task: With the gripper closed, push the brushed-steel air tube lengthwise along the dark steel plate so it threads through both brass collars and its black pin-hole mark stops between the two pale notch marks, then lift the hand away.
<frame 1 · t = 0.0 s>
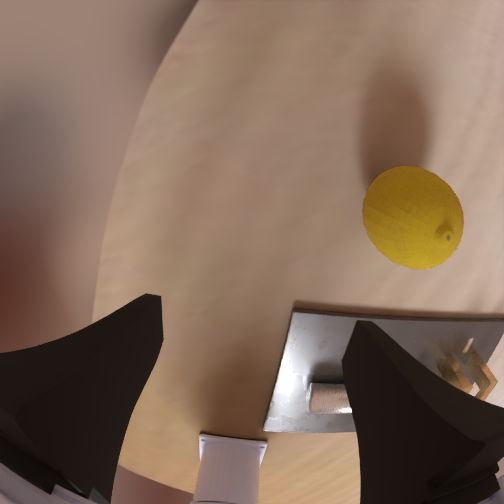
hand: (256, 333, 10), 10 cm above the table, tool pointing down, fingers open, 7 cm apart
air tube: (372, 387, 24), point 1 cm above the table, touching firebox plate
lemon: (384, 199, 18), on the table
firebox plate: (396, 382, 24), on the table
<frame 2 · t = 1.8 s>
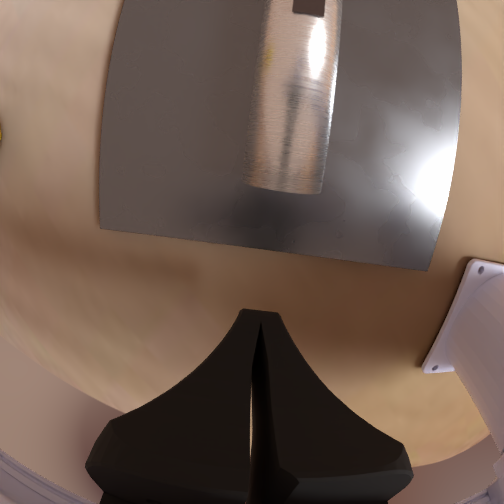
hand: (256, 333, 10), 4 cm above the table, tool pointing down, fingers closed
air tube: (297, 31, 9), point 1 cm above the table, touching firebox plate
lemon: (2, 136, 11), on the table
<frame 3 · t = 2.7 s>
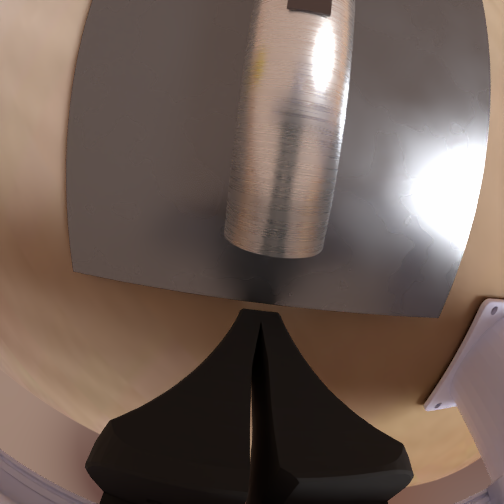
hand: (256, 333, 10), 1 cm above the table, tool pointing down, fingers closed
air tube: (298, 34, 7), point 1 cm above the table, touching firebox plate
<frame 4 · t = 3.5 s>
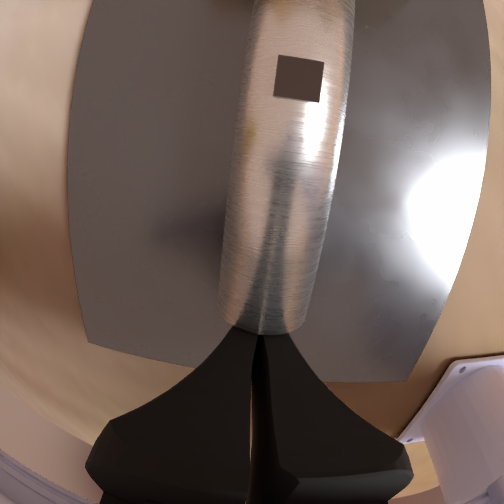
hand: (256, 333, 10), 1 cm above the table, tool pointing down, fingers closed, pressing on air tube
air tube: (291, 98, 8), point 1 cm above the table, touching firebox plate, gripper
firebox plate: (295, 63, 8), on the table
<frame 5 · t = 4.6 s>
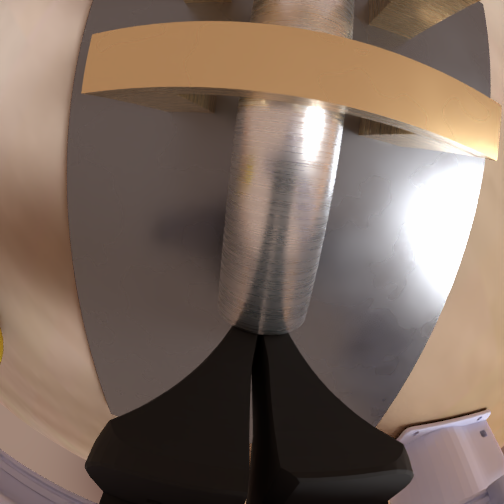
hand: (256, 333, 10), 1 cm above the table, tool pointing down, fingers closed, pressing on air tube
air tube: (291, 98, 8), point 1 cm above the table, touching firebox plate, gripper
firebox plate: (270, 236, 10), on the table
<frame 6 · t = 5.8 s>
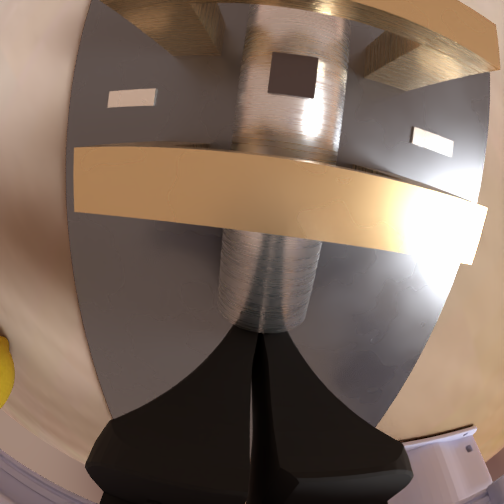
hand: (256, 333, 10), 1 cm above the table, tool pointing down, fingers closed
air tube: (291, 96, 8), point 1 cm above the table, touching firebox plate
lemon: (8, 338, 14), on the table
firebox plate: (261, 290, 11), on the table
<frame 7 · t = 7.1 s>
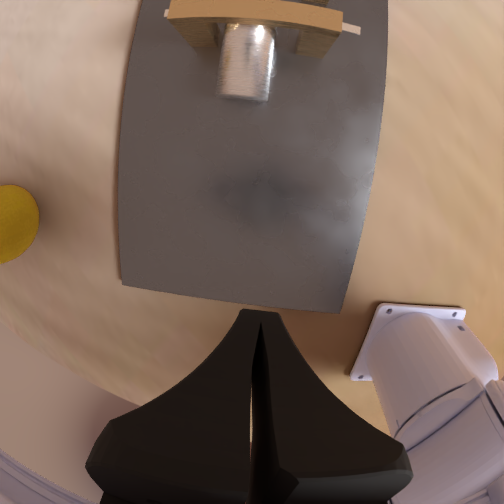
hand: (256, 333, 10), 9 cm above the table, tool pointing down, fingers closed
air tube: (262, 8, 13), point 1 cm above the table, tilted 17°, touching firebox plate
lemon: (36, 208, 19), on the table
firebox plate: (248, 111, 16), on the table
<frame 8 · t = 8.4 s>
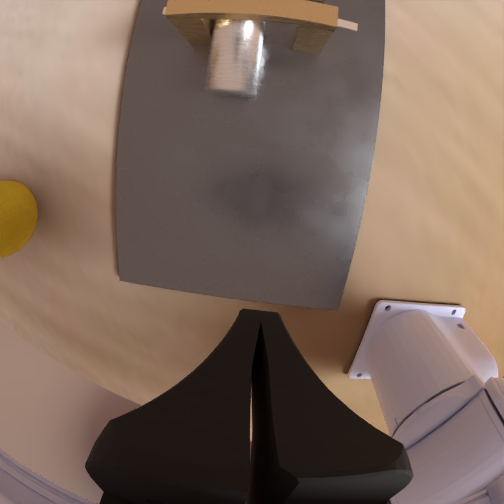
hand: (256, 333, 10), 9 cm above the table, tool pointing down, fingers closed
air tube: (259, 4, 12), point 1 cm above the table, tilted 36°, touching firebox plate
lemon: (35, 204, 19), on the table
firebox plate: (246, 107, 16), on the table
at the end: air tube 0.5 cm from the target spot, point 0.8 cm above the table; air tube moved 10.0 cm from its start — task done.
